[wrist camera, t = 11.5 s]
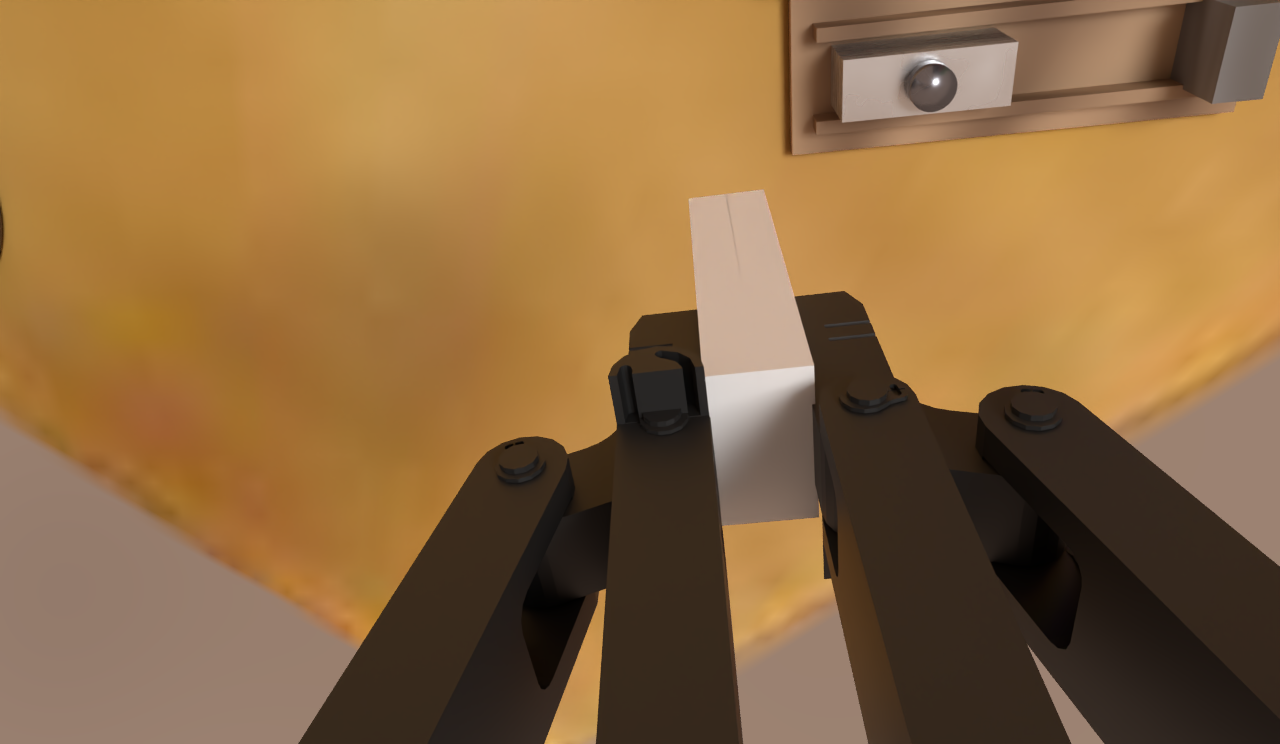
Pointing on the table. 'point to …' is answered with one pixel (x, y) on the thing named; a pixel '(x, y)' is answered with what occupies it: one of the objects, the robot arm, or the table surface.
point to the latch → (922, 74)
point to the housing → (1043, 63)
